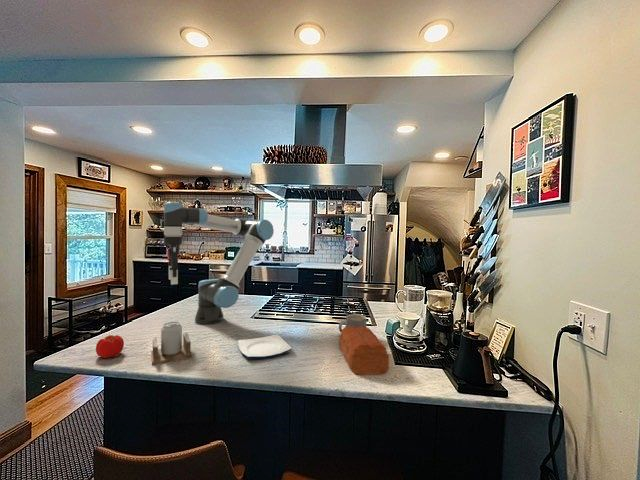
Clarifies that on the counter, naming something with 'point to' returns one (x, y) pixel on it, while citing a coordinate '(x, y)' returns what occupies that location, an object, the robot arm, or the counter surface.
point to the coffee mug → (353, 321)
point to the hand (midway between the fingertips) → (173, 281)
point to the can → (171, 338)
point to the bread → (363, 351)
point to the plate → (263, 347)
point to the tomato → (109, 346)
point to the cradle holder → (161, 358)
